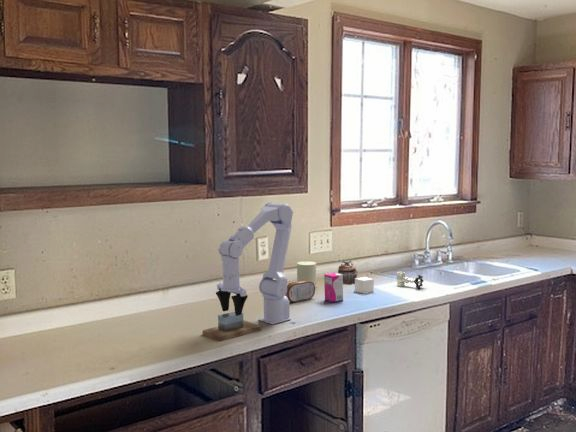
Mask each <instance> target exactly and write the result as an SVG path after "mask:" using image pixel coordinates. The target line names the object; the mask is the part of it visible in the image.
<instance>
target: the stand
mask: <svg viewBox="0 0 576 432" xmlns="http://www.w3.org/2000/svg"><path fill="white" fill-rule="evenodd" d="M243 325H244V327H243V328H239V329H235V330H231V331H227V332H224V331H221V330H218V326H214V327H210V328H206V329H203V330H202V335H203V336H205V337H209V338H211V339H213V340H215V341H218V342H222V341H225V340H229V339H233V338H236V336H237V337H240V336H244V335H247V334H251V333H255V332H259V331H261V330H262V326H261V325H259V324H256V323H253V322H250V321H248V320H245V319H243ZM232 337H233V338H232ZM228 338H229V339H228Z"/></svg>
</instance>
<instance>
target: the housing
mask: <svg viewBox="0 0 576 432" xmlns="http://www.w3.org/2000/svg"><path fill="white" fill-rule="evenodd" d="M243 320H244V313H243V312H242V314H241V315H238V316H236V315H235V311H232V312H227V313H223V314H217V322H218V323H217V325H218V326H217V327H218V330H221V331H224V332H227V331H231V330H235V329H239V328H243V327H244V325H243Z"/></svg>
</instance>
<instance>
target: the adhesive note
mask: <svg viewBox="0 0 576 432" xmlns="http://www.w3.org/2000/svg"><path fill="white" fill-rule="evenodd" d="M374 284H375V283H374V279H373V278H371V277H367V276H362V277H361V276H360V277H357V278H355V283H354V292H357V293H359V294H369V293H374V287H375V286H374Z"/></svg>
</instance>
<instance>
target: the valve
mask: <svg viewBox="0 0 576 432" xmlns="http://www.w3.org/2000/svg"><path fill="white" fill-rule="evenodd" d="M405 273H406V272H404V271H397V275H396V283H397V284H396V285H397V287H401V288H402V287H405V284H409V283H411V284H413V283H414V284H415V288H417V289H419V290H420V289H421V287H423V282H424V279H423V278H424V276H423V275H421V274H418V275H417V276H416V277H415V278H410V277H409V276H405Z"/></svg>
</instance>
